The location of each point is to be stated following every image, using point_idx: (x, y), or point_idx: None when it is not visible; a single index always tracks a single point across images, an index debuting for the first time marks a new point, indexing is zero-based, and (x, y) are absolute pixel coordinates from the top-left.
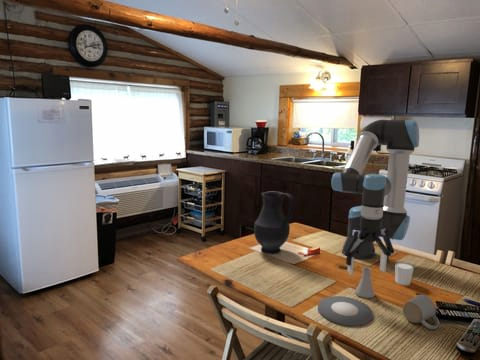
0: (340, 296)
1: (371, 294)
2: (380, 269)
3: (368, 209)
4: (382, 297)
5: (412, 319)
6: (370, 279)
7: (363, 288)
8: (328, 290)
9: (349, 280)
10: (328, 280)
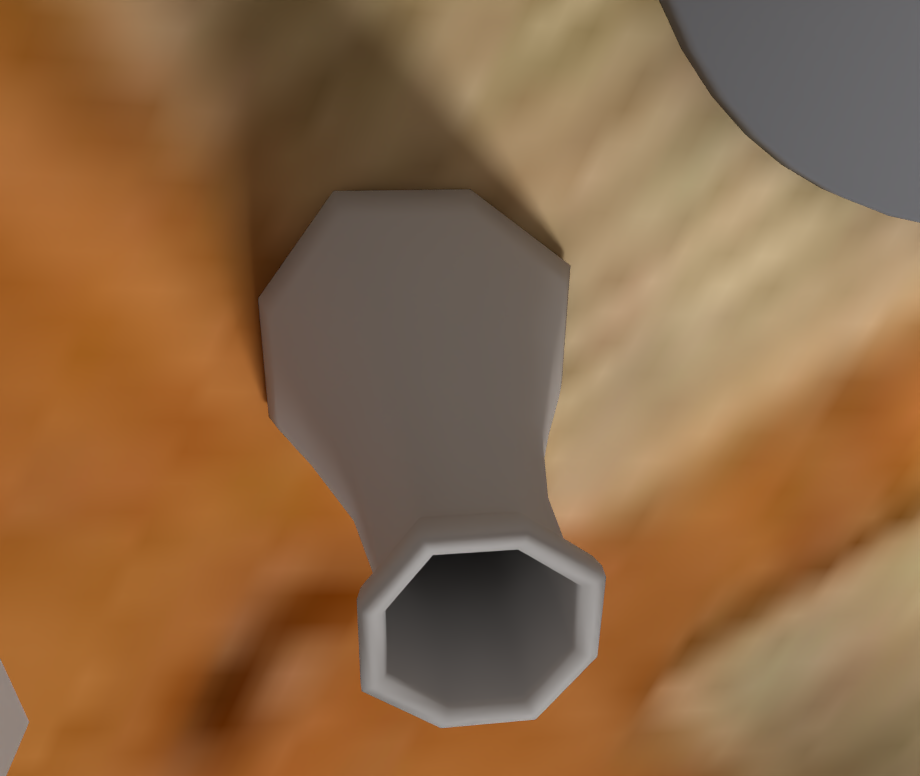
0: (912, 211)
1: (366, 221)
2: (9, 701)
3: None
4: (148, 207)
5: None
6: (358, 445)
7: (516, 306)
8: (896, 457)
9: None
10: (739, 702)
